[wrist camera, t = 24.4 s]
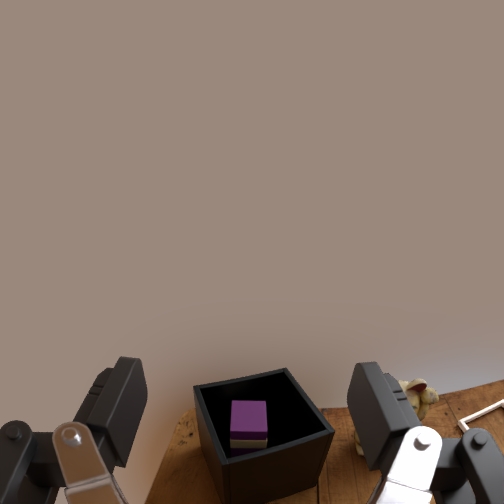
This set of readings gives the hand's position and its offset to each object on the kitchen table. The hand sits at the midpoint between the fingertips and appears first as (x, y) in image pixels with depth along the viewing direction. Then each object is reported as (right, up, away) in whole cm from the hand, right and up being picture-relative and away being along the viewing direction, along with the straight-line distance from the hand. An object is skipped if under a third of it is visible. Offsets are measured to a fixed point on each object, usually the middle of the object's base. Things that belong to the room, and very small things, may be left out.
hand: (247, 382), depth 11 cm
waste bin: (+1, -25, +25) cm, 35 cm away
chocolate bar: (0, -24, +25) cm, 35 cm away
